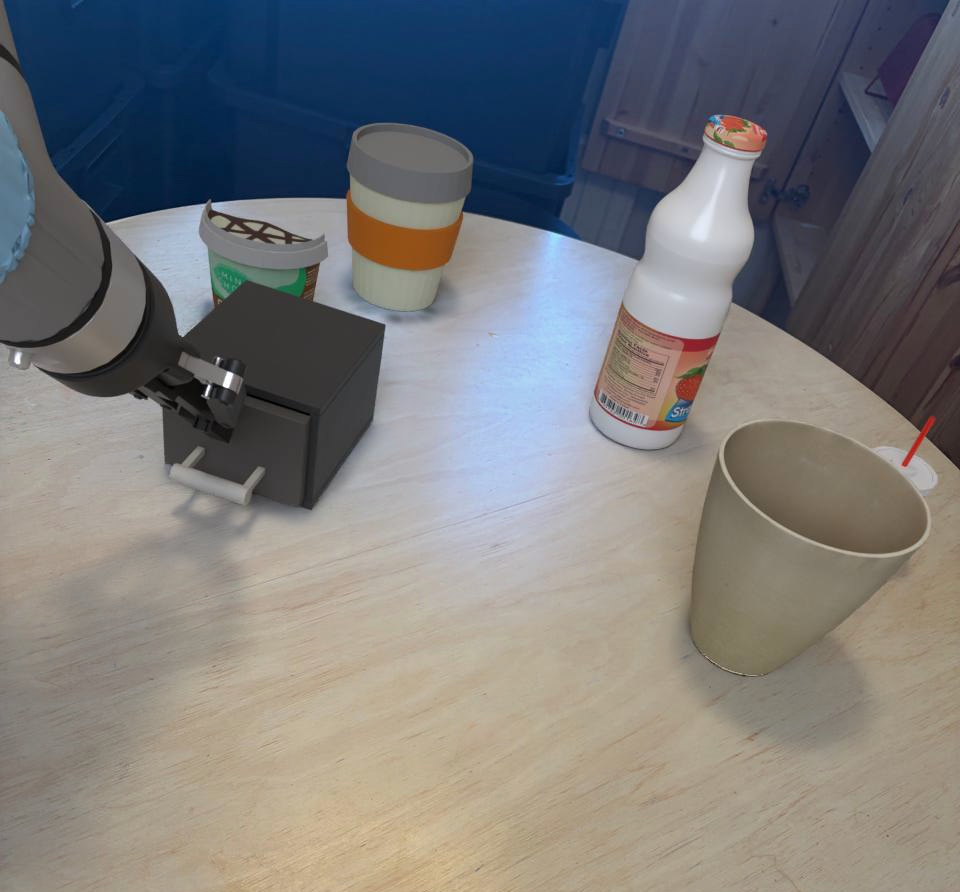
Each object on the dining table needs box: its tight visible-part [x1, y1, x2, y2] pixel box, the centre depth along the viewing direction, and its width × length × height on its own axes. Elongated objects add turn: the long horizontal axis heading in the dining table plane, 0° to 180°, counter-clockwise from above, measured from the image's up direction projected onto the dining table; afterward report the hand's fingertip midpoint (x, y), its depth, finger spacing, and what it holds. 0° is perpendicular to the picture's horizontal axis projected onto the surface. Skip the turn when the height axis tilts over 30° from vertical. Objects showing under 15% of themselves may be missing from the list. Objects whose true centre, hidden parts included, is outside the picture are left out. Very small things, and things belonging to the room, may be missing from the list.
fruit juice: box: [589, 114, 768, 451], centre depth 87 cm, size 9×9×28 cm
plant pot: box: [689, 417, 933, 675], centre depth 72 cm, size 15×15×16 cm
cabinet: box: [182, 280, 387, 511], centre depth 81 cm, size 15×13×10 cm
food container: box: [198, 199, 329, 309], centre depth 92 cm, size 12×6×10 cm, turn 76°
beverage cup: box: [872, 415, 938, 498], centre depth 85 cm, size 6×6×14 cm
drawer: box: [161, 394, 311, 508], centre depth 78 cm, size 18×11×8 cm, turn 165°
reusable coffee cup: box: [346, 122, 474, 312], centre depth 102 cm, size 13×13×15 cm
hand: (225, 423), depth 72 cm, fingers closed
